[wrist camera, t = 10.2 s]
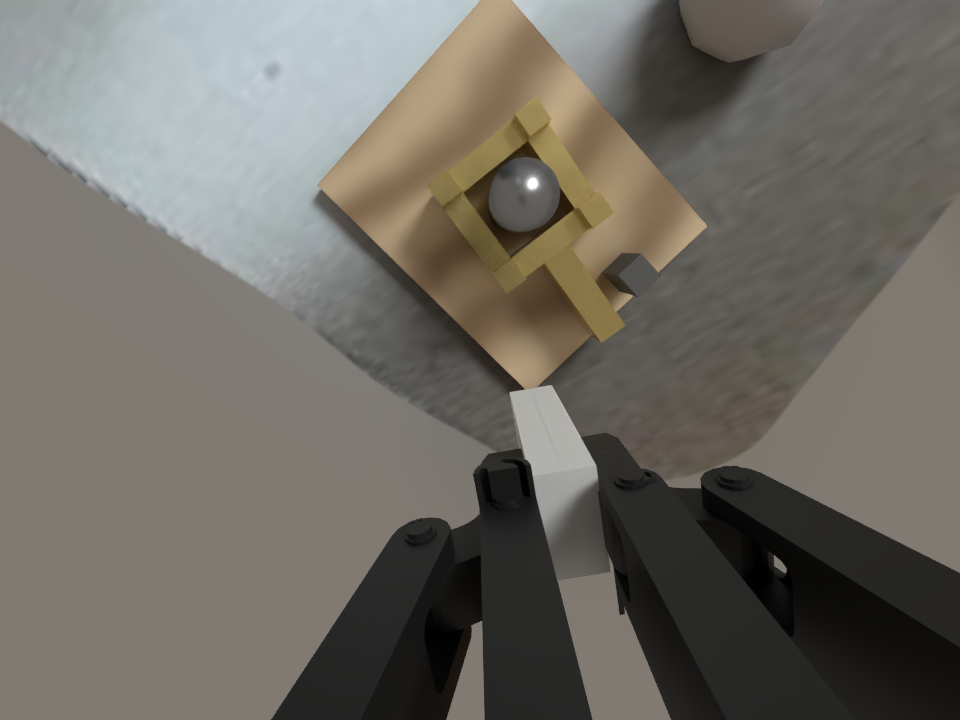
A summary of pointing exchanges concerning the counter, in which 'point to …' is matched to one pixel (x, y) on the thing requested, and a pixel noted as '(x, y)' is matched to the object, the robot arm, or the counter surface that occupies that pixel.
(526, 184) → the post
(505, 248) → the oak board
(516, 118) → the handled square frame
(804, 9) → the potion bottle
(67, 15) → the counter surface
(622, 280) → the block
